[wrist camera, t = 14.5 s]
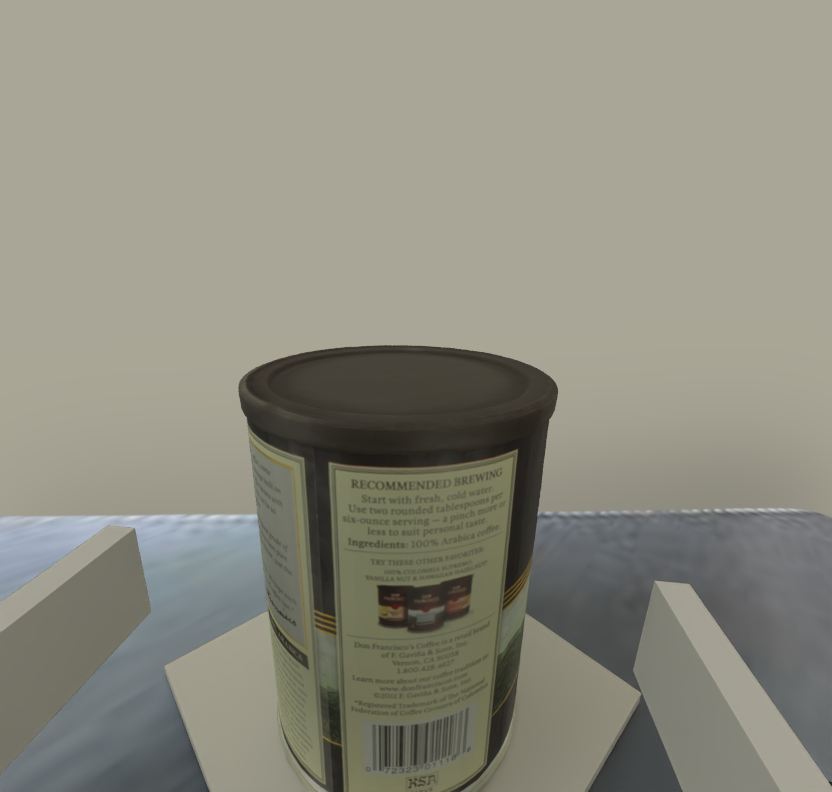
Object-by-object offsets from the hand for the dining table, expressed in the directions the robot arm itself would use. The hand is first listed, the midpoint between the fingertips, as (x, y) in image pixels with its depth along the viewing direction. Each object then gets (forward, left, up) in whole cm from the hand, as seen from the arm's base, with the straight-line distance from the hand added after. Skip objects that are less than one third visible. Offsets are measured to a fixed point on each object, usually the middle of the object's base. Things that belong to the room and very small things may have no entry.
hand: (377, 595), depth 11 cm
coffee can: (-4, +4, -10) cm, 11 cm away
